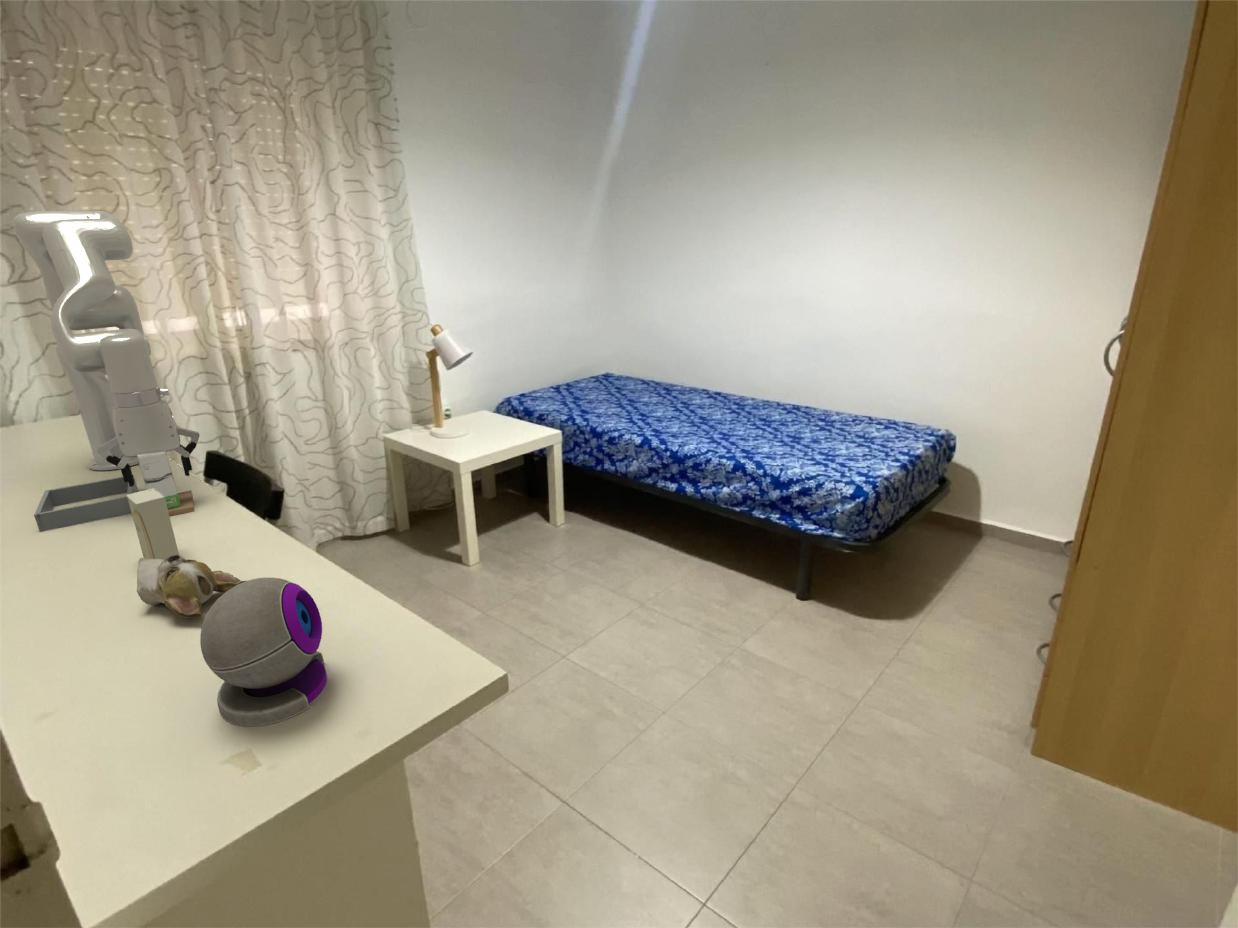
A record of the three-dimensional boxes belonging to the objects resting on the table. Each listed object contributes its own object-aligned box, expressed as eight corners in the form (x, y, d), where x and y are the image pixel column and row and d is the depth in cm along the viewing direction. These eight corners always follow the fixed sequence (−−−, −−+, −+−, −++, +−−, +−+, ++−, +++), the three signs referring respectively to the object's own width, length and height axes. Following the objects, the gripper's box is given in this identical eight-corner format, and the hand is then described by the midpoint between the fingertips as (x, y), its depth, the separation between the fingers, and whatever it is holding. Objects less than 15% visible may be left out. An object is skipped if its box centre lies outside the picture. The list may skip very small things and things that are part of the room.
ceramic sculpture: (167, 533, 109) (245, 547, 105) (178, 580, 112) (255, 595, 108) (104, 565, 99) (187, 582, 96) (118, 615, 102) (200, 634, 99)
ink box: (181, 506, 140) (167, 451, 135) (153, 512, 137) (137, 457, 133) (177, 494, 146) (163, 441, 142) (149, 500, 143) (134, 446, 139)
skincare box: (143, 558, 120) (124, 494, 116) (171, 549, 123) (154, 487, 119) (153, 569, 116) (134, 503, 112) (182, 559, 119) (164, 495, 115)
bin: (50, 505, 145) (45, 490, 143) (137, 489, 152) (133, 474, 151) (39, 531, 132) (33, 515, 131) (135, 512, 140) (131, 496, 139)
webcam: (321, 716, 80) (296, 606, 75) (202, 735, 78) (168, 622, 73) (339, 652, 92) (319, 553, 87) (237, 666, 90) (210, 565, 85)
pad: (143, 504, 144) (141, 499, 144) (192, 494, 148) (191, 490, 148) (142, 521, 135) (140, 517, 135) (194, 511, 140) (193, 506, 139)
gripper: (188, 388, 141) (207, 465, 147) (85, 401, 132) (110, 483, 138) (189, 395, 135) (209, 475, 141) (81, 409, 126) (108, 494, 132)
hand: (160, 479), depth 140 cm, fingers open, 9 cm apart
